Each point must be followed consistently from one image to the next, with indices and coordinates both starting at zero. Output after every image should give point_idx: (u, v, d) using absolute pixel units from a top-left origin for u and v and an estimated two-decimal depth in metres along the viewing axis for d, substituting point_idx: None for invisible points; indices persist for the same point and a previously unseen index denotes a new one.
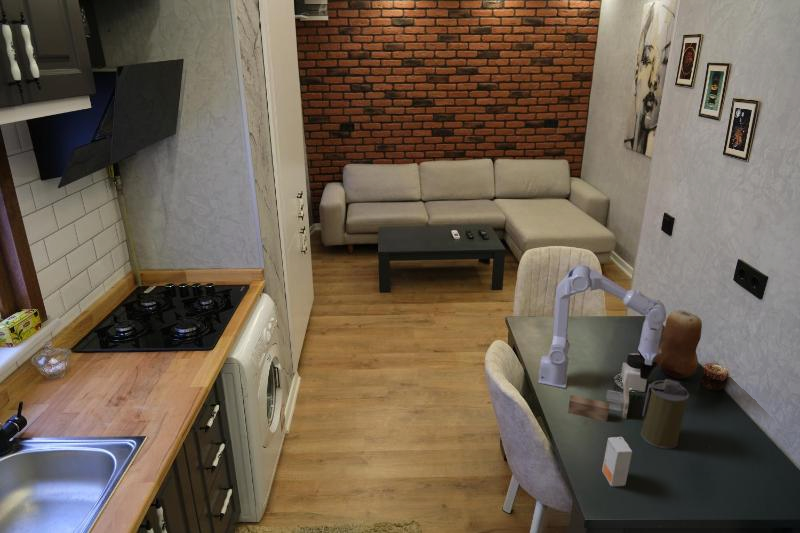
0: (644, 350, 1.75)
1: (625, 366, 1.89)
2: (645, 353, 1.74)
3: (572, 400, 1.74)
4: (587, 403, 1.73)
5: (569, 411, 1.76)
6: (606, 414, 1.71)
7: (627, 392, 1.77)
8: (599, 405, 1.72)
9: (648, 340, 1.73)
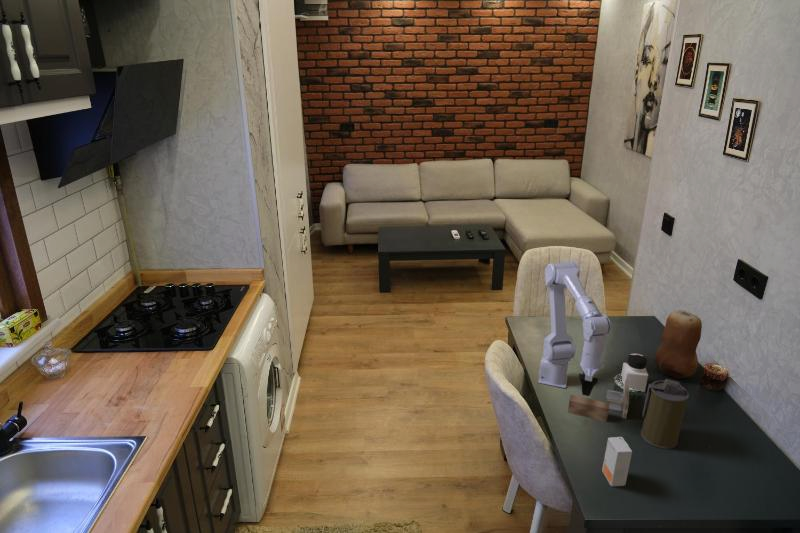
0: (585, 365, 1.67)
1: (625, 366, 1.89)
2: (586, 368, 1.67)
3: (572, 400, 1.74)
4: (587, 403, 1.73)
5: (569, 411, 1.76)
6: (606, 414, 1.71)
7: (627, 392, 1.77)
8: (598, 405, 1.72)
9: (589, 355, 1.65)
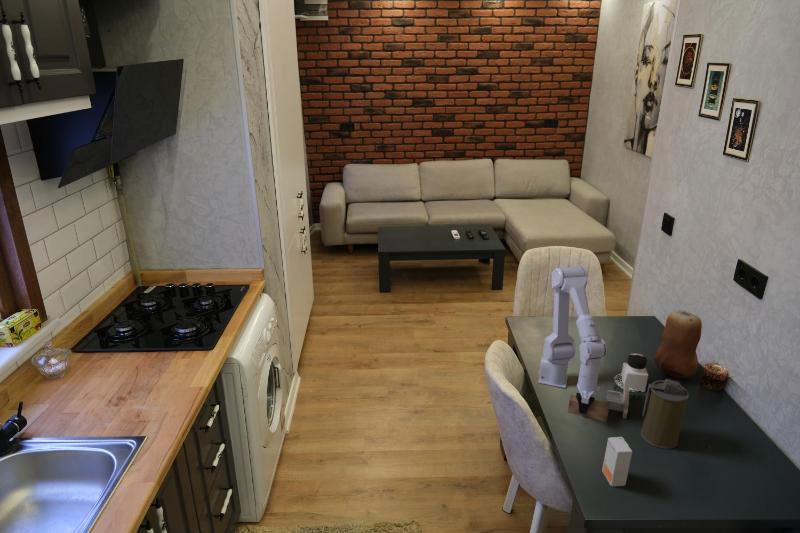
0: (582, 387, 1.70)
1: (625, 366, 1.89)
2: (583, 390, 1.70)
3: (572, 400, 1.74)
4: None
5: (569, 410, 1.76)
6: (606, 414, 1.71)
7: (627, 392, 1.77)
8: (598, 405, 1.72)
9: (585, 377, 1.68)
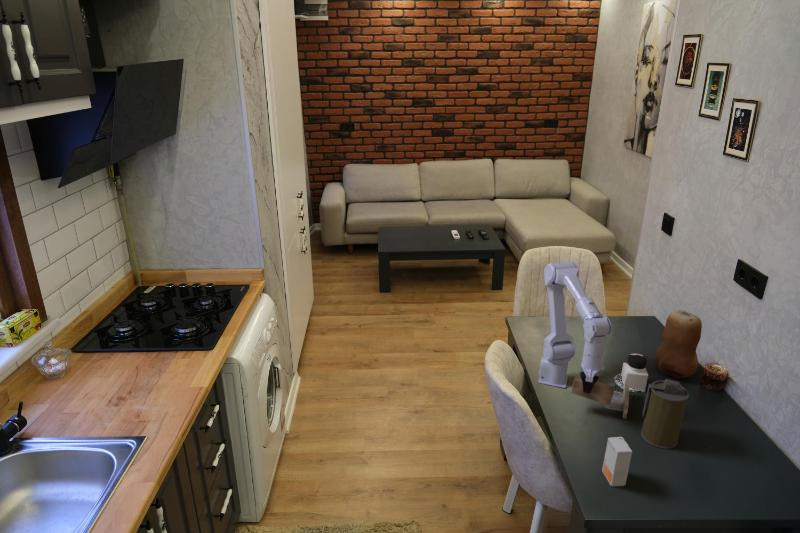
0: (586, 366, 1.68)
1: (625, 366, 1.89)
2: (587, 369, 1.68)
3: (578, 381, 1.72)
4: None
5: (573, 391, 1.74)
6: (610, 397, 1.69)
7: (627, 392, 1.77)
8: (604, 388, 1.70)
9: (590, 356, 1.66)
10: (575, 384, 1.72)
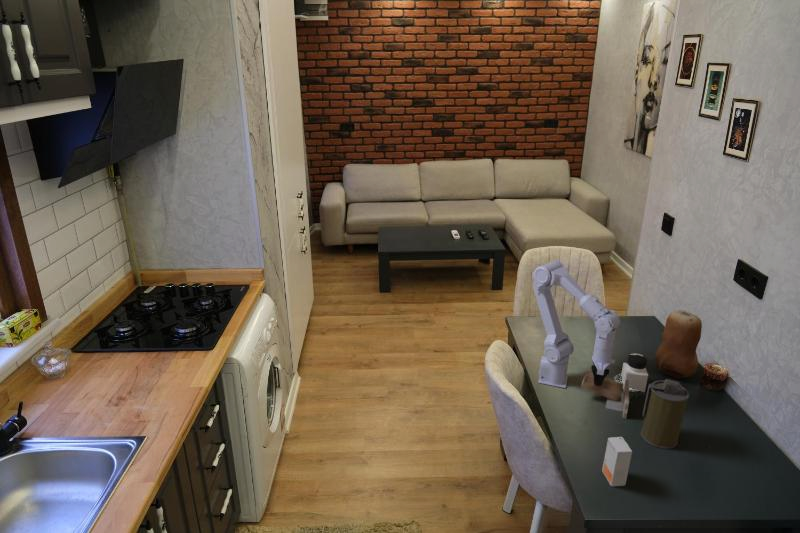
0: (597, 360, 1.75)
1: (625, 366, 1.89)
2: (598, 363, 1.74)
3: (589, 376, 1.79)
4: (603, 381, 1.78)
5: (583, 385, 1.80)
6: (619, 394, 1.77)
7: (627, 392, 1.77)
8: (613, 384, 1.77)
9: (600, 350, 1.73)
10: (586, 379, 1.79)
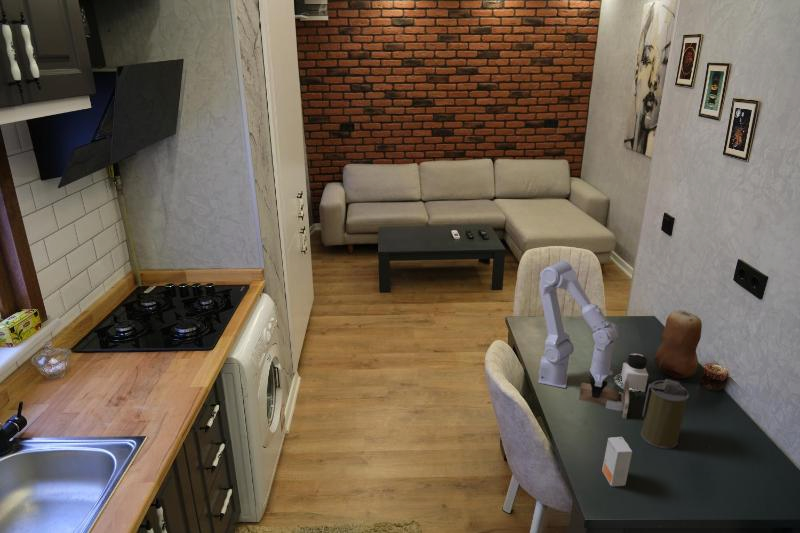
0: (595, 371, 1.76)
1: (625, 366, 1.89)
2: (596, 374, 1.76)
3: (583, 387, 1.81)
4: None
5: (580, 398, 1.82)
6: (616, 400, 1.78)
7: (627, 392, 1.77)
8: (609, 392, 1.79)
9: (599, 362, 1.74)
10: (581, 391, 1.81)
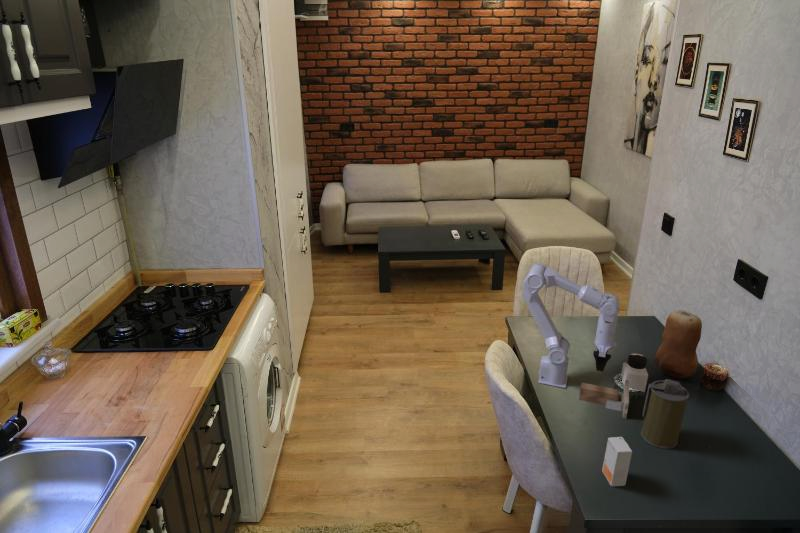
0: (599, 343, 1.79)
1: (625, 366, 1.89)
2: (600, 346, 1.79)
3: (584, 388, 1.81)
4: (598, 390, 1.80)
5: (580, 398, 1.82)
6: (616, 400, 1.78)
7: (627, 392, 1.77)
8: (609, 392, 1.79)
9: (603, 333, 1.78)
10: (581, 391, 1.81)
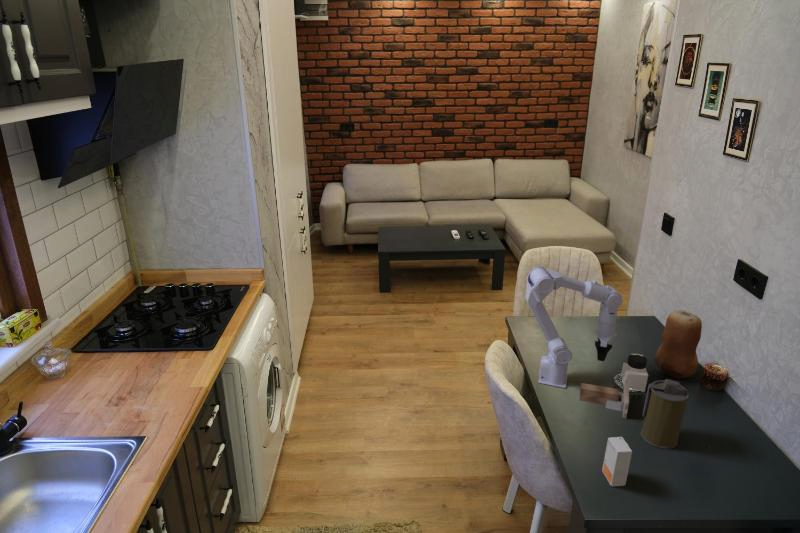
0: (600, 333, 1.85)
1: (625, 366, 1.89)
2: (601, 336, 1.84)
3: (584, 388, 1.81)
4: (598, 390, 1.80)
5: (580, 398, 1.82)
6: (616, 400, 1.78)
7: (627, 392, 1.77)
8: (609, 391, 1.79)
9: (604, 323, 1.83)
10: (582, 392, 1.81)
